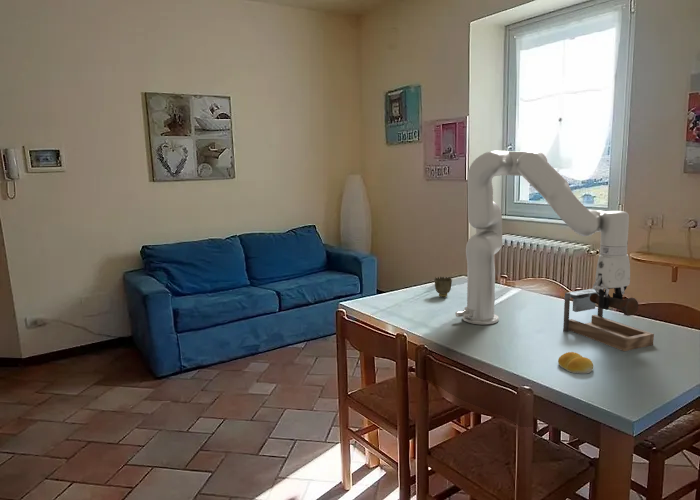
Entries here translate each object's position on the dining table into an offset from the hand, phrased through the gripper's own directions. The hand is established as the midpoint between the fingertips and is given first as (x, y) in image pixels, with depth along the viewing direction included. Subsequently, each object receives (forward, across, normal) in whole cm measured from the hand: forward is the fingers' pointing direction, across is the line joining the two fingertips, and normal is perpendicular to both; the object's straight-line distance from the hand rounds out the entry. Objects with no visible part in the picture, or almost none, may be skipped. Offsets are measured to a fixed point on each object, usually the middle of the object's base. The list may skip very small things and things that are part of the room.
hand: (610, 306), depth 162 cm
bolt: (+1, 0, 0) cm, 1 cm away
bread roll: (+10, -28, -14) cm, 33 cm away
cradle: (+10, 0, 0) cm, 10 cm away
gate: (+4, 0, +10) cm, 11 cm away
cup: (+10, -20, +66) cm, 70 cm away
